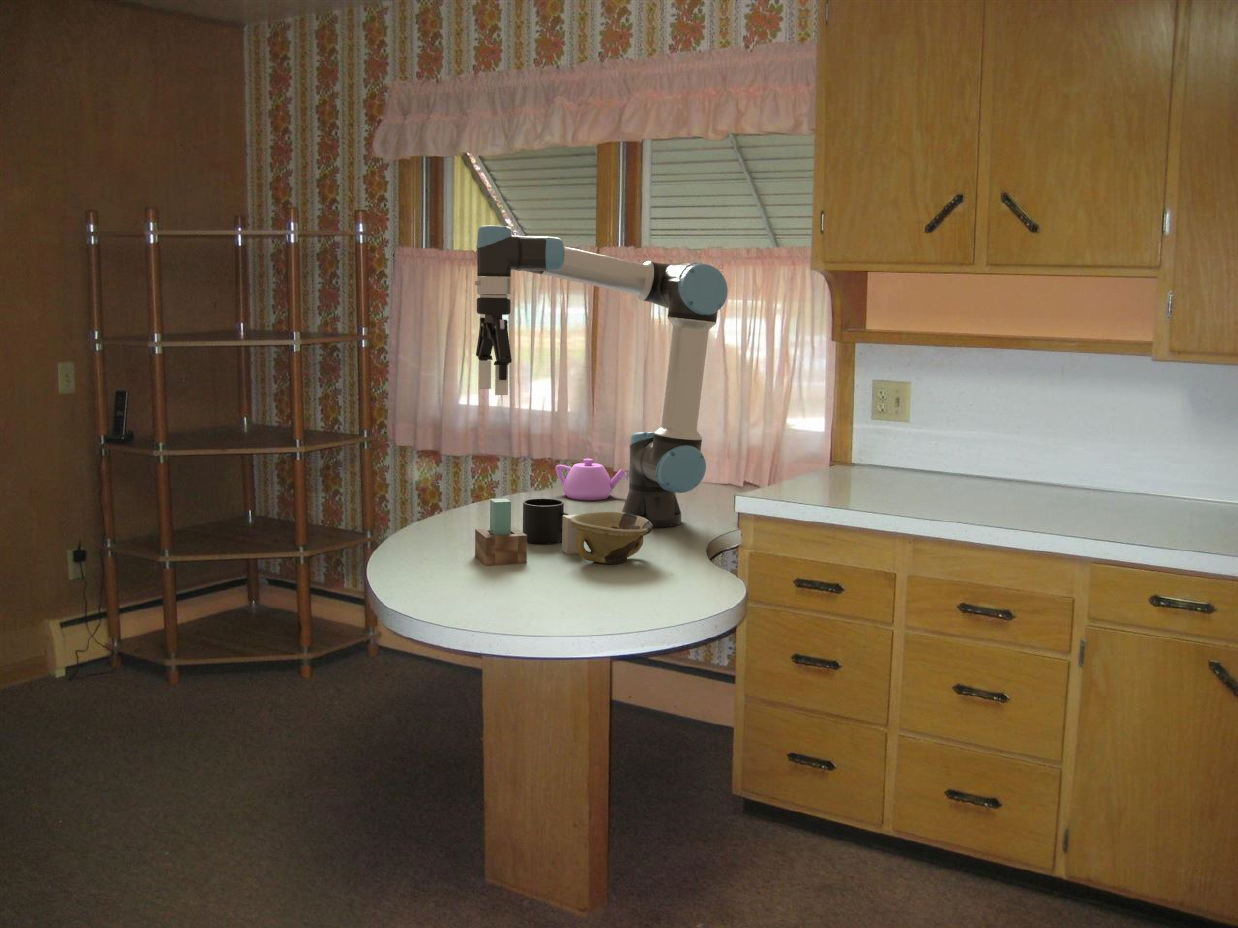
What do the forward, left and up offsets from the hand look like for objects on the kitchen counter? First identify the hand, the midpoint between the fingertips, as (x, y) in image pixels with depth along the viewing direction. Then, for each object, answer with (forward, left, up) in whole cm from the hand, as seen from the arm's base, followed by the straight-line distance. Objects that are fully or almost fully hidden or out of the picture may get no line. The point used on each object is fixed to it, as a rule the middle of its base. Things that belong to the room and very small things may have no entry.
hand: (492, 392), depth 271 cm
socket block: (+2, +16, -35) cm, 38 cm away
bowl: (-20, +24, -35) cm, 47 cm away
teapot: (-42, -49, -35) cm, 73 cm away
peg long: (+3, +16, -35) cm, 38 cm away
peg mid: (-15, +13, -35) cm, 40 cm away
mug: (-13, +1, -35) cm, 37 cm away
